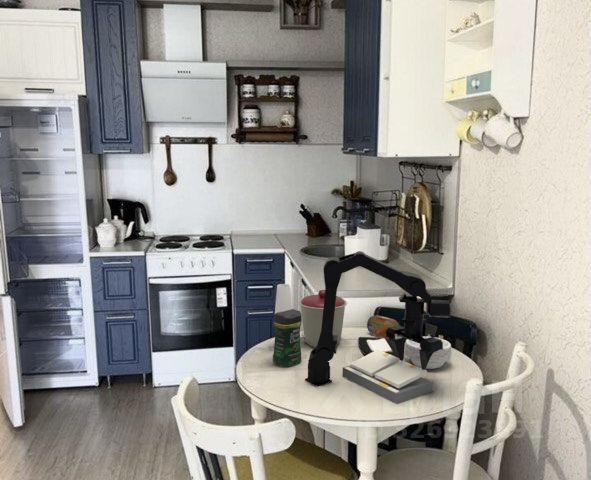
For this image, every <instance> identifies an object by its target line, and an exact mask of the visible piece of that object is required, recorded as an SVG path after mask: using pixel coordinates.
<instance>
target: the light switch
mask: <svg viewBox="0 0 591 480" xmlns="http://www.w3.org/2000/svg"><path fill="white" fill-rule="evenodd" d="M357 341H358V346H359V348H360V350H361V351H362V353H363V354H364V355H365V356H366V355H368V354H370V353H372V352H374V351H376V350H377V349H378V350H380V351H383V352H385V353H388V354H390V355H393V356H395V357H397V358H399V357H398V355H397V353H396V351H395V348H394V347H393V345H392V343H391V341H390V340H389V339H384V338H383V339H382V338H377V337H367V336H366V337H365V336H360V337H358V338H357Z"/></svg>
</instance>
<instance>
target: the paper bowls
mask: <svg viewBox="0 0 591 480" xmlns="http://www.w3.org/2000/svg"><path fill="white" fill-rule="evenodd" d="M430 337H431V336H429V335H428V336H426V337H425V336H423V338H424V339H426V338H430ZM433 337H434V338H437V339H440V340H441V341H442V342H443V349H441V350H439V351H436V352H434V353H433V354H432V356H431V358H430V360H429V362H428V364H427V367H426V369H425V370H431V369H433V370H435V369H439V368H441V367H442V366H443V365H444V364H445V363H446V362H449V361H450V360H451V355H452V353H451V352H452V351H451V350H452V344H451V343H450V342H449V341H448V340H446V339H443V338H439V337H436V336H433ZM419 350H421V348H420V344H419V343H417V342H414V341H411V340H408V339H407V340H406V342H405V348H404V356H406V357H407V358H409V359H410V360H411V363H412V365H415V366H417V367H420V368H422V367H421V361H420V354H419Z"/></svg>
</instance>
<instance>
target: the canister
mask: <svg viewBox="0 0 591 480" xmlns="http://www.w3.org/2000/svg"><path fill="white" fill-rule="evenodd" d="M324 297H325V289H320V290H319V291H318V293H317V294H310V295H307V296H304V297H302V299H300V300H299V301H298V304H299V305H300V313H301V318H302V323H301V324H302V329H303V330H302V331H303V337H304V340H305V342H306V344H307V345H308V346H311V347H313V348H315V347H317V342H318V339H319V335H320V332H321V328H322V318H323V308H324ZM347 304H348V302H347V301H346V300H345V299H344V298H342V297H341V296H338V295H336V304H335V314H334V324H333V334H334V335H338V339H337V344H336V345H337V346H338V345H339V343H340V342H341V338H342V334H343V333H342V332H343V325H344V320H345V319H344V317H345V310H346V306H347Z"/></svg>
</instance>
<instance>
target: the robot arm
mask: <svg viewBox="0 0 591 480" xmlns="http://www.w3.org/2000/svg"><path fill="white" fill-rule="evenodd" d="M358 267H360V268H363V269H365V270H368V271H369V272H371V273H374V274H376V275H378V276H380V277H382V278H384V279H386V280H389V281H391V282H392V283H394V284H395V285H397V286H398V288H399V287H400V289H401V290H403V291H404V292H403V294H402V295H400V296H399V297H398V301H399V303H404V317H403V318H401V323H403V324H404V325H403V326H402V325H400V324H399V325H400V326H399V325H397V326H393V327H389V328H388V329H387V330H386V337H389V340H390V341H391V343H392V345H393V347H394V348H395V351H396V353H397V355H398V357H399V361H400V362H401V361H404V358H405V345H406V343H405V342H406V340H407V339H408V340H411V341H414V342H417V343H419V344H420V348H421V350H419V354H420V361H421V367H422V370H427V369H426V367H427V364H428V362H429V360H430V358H431V356H432V354H433V353H434V352H436V351H439V350H441V349H443V342H442V341H441V340H440V339H441V338H440V339H437V338H438V337H436V333H437V329H438V326H436V325H432V324H429V323H428V320H427V319H426V318H425V317H424V316H425V314H428V316H429V317H430V318H450V316H451V307H450V296H449V294H431V293H430V291H429V290H427V285H426V281H424V278H423V277H422V276H421V275H419V274H418V273H413V272H410V271H406V270H402V269H401V270H400V269H398V268H396V267H393V266H392V265H389V264H388V263H385V262H383V261H381V260H379V259H377V258H375V257H372V256H370V255H368V254H367V253H365V252H363V251H355V252H354V253H350V254H347V255H341V256H339V257H337V256H331V257H328V258H327V259H326V260H325V263H324V266H323V280H324V287H325V289H324V290H325V297H324V308H323V318H322V328H321V332H320V335H319V339H318V342H317V347H313V349H312V350H311V351H310V353H309V357H308V362H307V377H306V378H304V381H305V382H307V383H309V384H311V385H312V386H314V387H317V388H318V387H321V386H325V385H327V384H331V383H333V380H332V379H331V366H330V361H332V359H333V358H334V355H336V354H337V349H338V344H337V339H338V335H334V334H333V324H334V314H335V304H336V296H337V294H338V288H339V285H340V284H339V283H340V280H341V278H342V274H345V273H347V272H349V271H351V270H353V269H356V268H358ZM407 294H408V295H407ZM418 297H419V298H418ZM429 335H430V336H429ZM423 336H425V337H426V336H428V337H430V338H426V339H424V338H423ZM434 337H436V338H434ZM336 344H337V345H336ZM421 367H420V368H421Z"/></svg>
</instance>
